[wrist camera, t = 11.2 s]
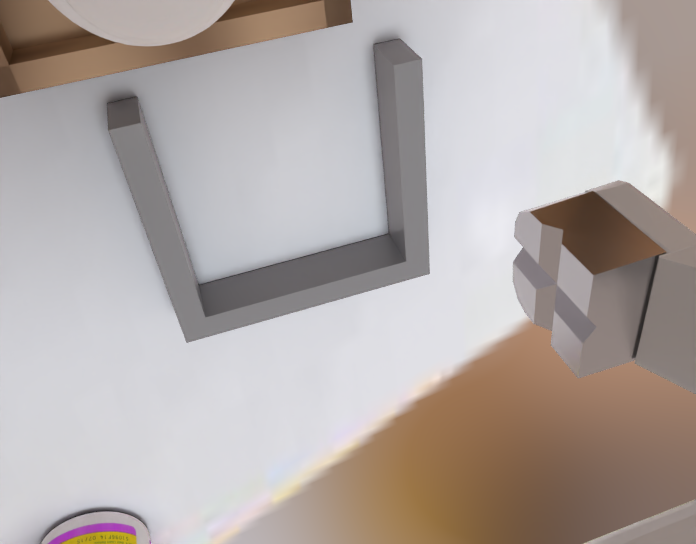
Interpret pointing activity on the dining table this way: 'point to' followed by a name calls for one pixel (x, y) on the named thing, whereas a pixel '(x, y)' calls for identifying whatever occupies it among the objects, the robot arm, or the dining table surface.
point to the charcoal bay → (307, 272)
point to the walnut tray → (112, 57)
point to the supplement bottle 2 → (100, 530)
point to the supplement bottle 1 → (143, 18)
